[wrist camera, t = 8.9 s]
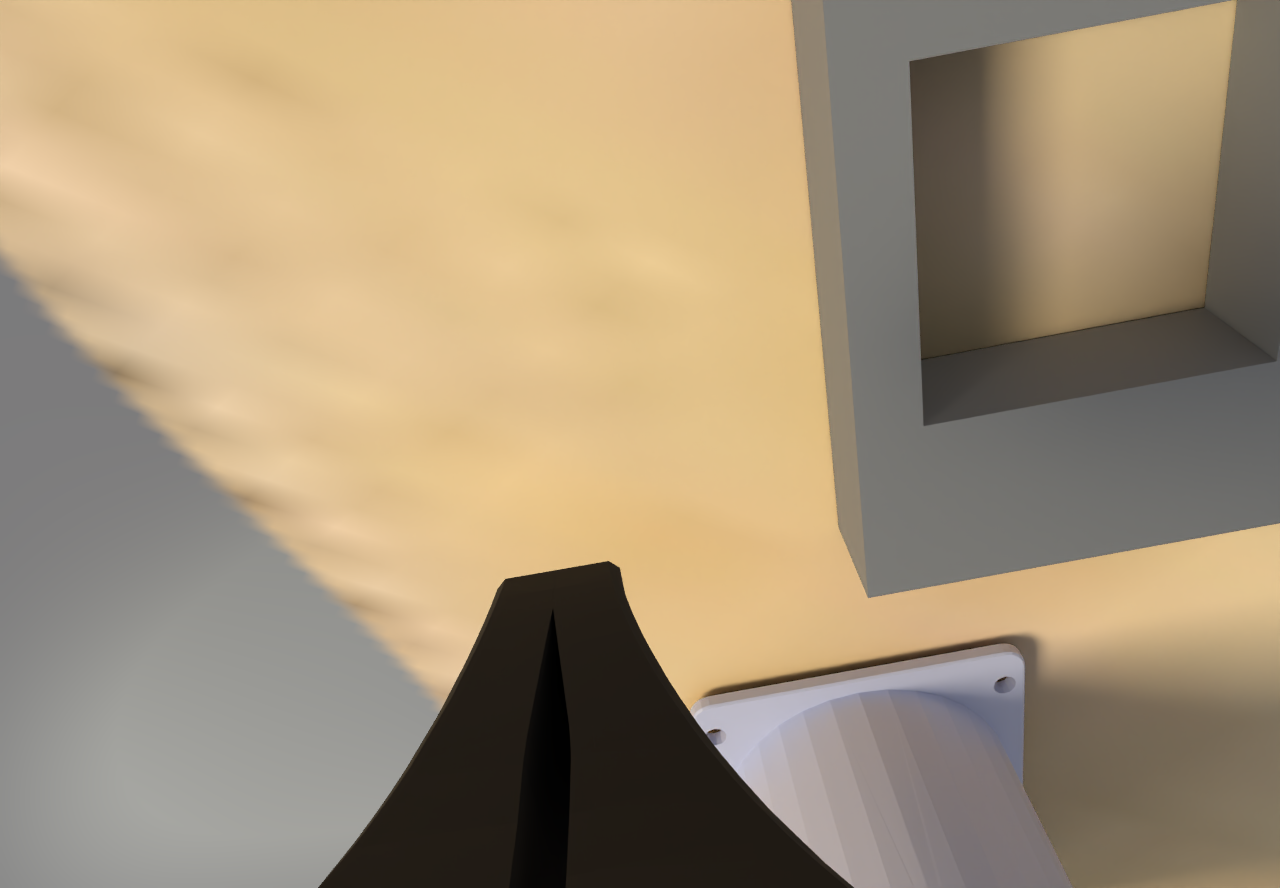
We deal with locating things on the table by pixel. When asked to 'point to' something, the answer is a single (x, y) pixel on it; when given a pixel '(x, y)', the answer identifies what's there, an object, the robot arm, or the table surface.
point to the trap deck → (1039, 368)
